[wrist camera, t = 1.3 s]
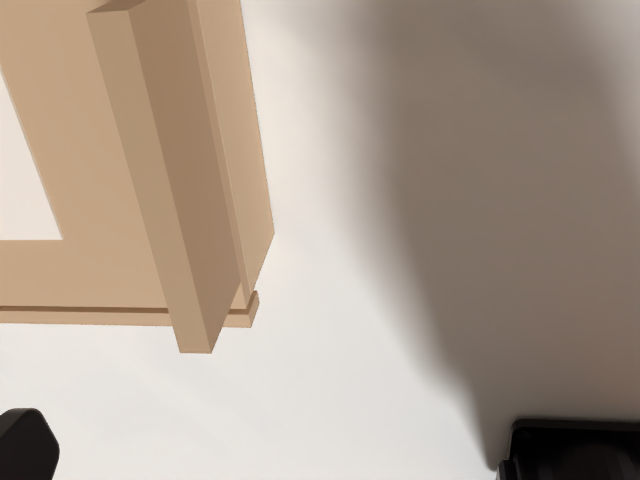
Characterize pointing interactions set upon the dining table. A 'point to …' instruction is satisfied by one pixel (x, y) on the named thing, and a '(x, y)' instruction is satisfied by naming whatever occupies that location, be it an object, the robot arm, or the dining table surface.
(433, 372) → the dining table surface
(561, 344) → the dining table surface
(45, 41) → the lid
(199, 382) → the dining table surface
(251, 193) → the mailer box
